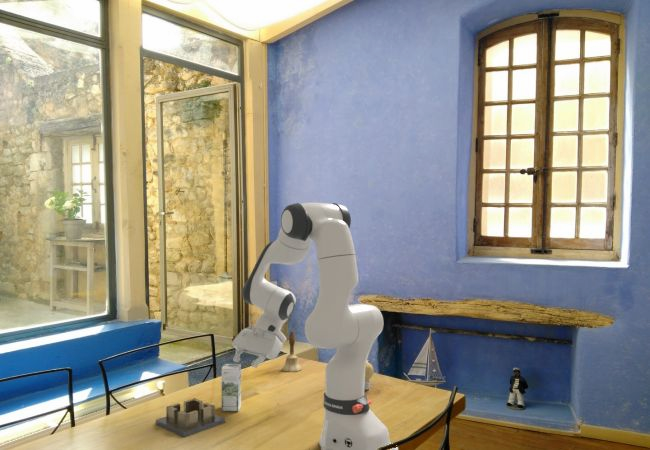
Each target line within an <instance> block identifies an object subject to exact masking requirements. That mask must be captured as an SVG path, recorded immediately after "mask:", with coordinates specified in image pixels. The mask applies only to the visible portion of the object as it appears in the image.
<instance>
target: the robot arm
mask: <svg viewBox="0 0 650 450" xmlns="http://www.w3.org/2000/svg"><path fill="white" fill-rule="evenodd" d="M351 222H352V218H351V214H350V212H349V209H348V208H347V207H346V205H343V204H340V203H335V202H334V203H327V202H311V201H310V202H303V203H298V202H295V203H291V204H289V205H287V206H285V207H284V209H283V211H282V213H281V216H280V224H281V227H280V229H279V232H278V236H277V238H276V240H274V241H270V242H268V243H267V244H266V245H265V247H264V248H263V250H262V252H261V253H260V255H259V256H258V259H257V261H256V263H255V265H254V267H253V268H252V271H251V273H250V274H249V277H248V278H247V280H246V282H245V283H244V285H243V287H242V289H241V296H242V299H243V300H244V302H245V303H247V304H250V305H251V306H255V307H256V308H259V309H260V310H262V311H263V313H262V314H261V315H260V316H259V318H258V319H257V320H256V322H255V323H254V325H253V327H251V326H247V327H245V328H243V329H242V330H241V331H240V332H239V333H238V334H237V335H236V336H235V338H234V339H233V340H232V343H231V346H232V347H233V348H234V349H235V354H234V356H233V358H232V360H233V361H234V362H235V363H240V361H241V360H242V358H241V355H242V354H243V353H246V354H251V355H253V356H257V358H256V359H254V360H252V362H251V363H250V366H251V367H252V368H257V367H258V366H259V365H260V364H261V363H263V362H264V361H265V360H266V359H269V360H274V359H276V358H277V357H278V355H279V354H280V352H281V350H282V349H283V346H284V344H285V343H286V342H287V337H286V336H285V334H284V333H283V332H282V331H281V330H282V329H283V328H282V327H283V325H284V324H285V323H286V322H287V321H288V318H289V317H290V316H291V315H292V313H293V311H294V309H295V306H296V302H297V298H296V296H295V295H294V293H293V292H292V291H290V290H288V289H286V288H285V289H284V288H282V287H280V286H278V285H276V284H274V283H272V282H270V281H268V280H267V279H266V278H265V275H266V274H267V271H268V270H269V267H270V265H272V264H278V265H288V266H292V265H296V264H299V263H301V262H303V261H304V260H305V259H306V258H307V256H308V254H309V252H310V249H311V247H312V243H313V242H314V244H315V247H316V259H317V266H318V267H317V269H318V277H319V278H318V279H319V280H318V281H319V290H318V291H319V292H318V296H317V297H318V298H317V301H316V304H315V306H314V309H313V310H312V311H311V313H310V314H309V315H308V316H307V318H306V321H305V324H304V335H305V338H306V340H307V341H308V344H310V345H311V346H312V347H313V348H315V349H324V350H326V349H327V350H332V349H336V351H335V353H334V355H333V356H332V358H331V359H330V360H329V361H328V362H327V364H326V366H325V376H324V377H325V378H324V379H325V380H324V381H325V387H324V389H325V392H324V393H323V408H324V414H323V415H324V417H323V424H322V425H323V426H322V430H321V435H320V438H319V443H318V444H319V447H320V450H377V449H378V448H380V447H383V446H386V445H389V444H391V443H392V442H391V440H390V433H389V430H388V428H387V426H386V425H385V424H384V423H383V422H382V421H381V420H380V419H379V418H378V417H377V415H375V413H374V412H373V411H372V410H371V408H370V407H371V406H370V405H371V404H373V402H372V401H373V399H369V400H368V398H367V394H366V393H365V390H364V386H365V367H366V362H368V358H369V354H370V353H371V350H372V347H373V345H374V343H375V341H376V340H377V338H378V337H379V335H380V334H381V333H382V332H383V330H384V326H385V325H384V316H383V314H382V312H381V311H380V309H379V308H378V307H377V306H375V305H372V304H365V303H355V304H349V302H350V296H351V294H352V292H353V290H354V289H355V288H356V287H357V286H358V285H359V282H360V281H359V279H360V278H359V272H358V271H359V270H358V264H357V256H356V249H355V245H354V244H355V243H354V241H353V240H354V239H353V236H352V233H351V229H350V227H351V225H352V223H351ZM390 450H399V446H398V447H396V448H392V449H390Z"/></svg>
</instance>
